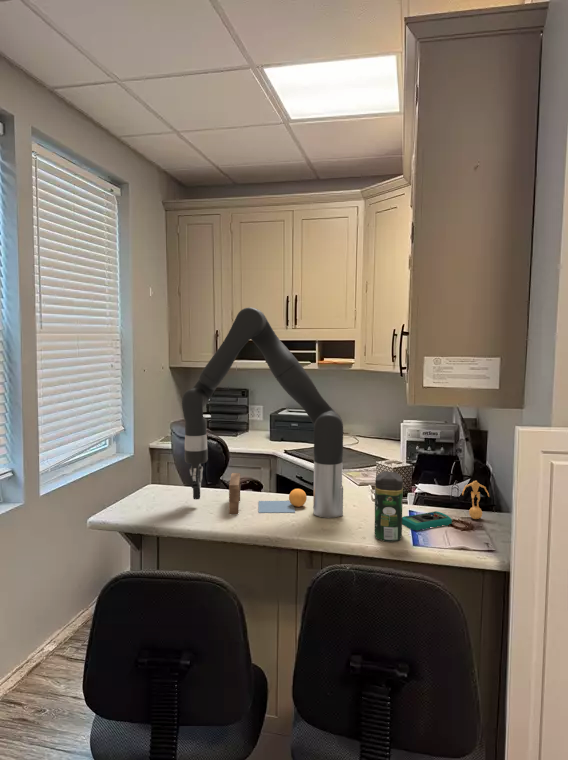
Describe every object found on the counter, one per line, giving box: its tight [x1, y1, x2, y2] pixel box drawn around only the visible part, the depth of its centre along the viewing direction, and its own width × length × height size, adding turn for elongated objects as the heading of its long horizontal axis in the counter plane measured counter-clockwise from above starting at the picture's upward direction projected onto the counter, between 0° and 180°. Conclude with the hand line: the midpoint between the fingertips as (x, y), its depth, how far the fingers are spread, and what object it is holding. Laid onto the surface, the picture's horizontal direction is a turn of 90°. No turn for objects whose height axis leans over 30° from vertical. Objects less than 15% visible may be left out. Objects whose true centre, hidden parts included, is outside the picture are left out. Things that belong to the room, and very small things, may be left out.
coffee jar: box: [374, 470, 404, 543], centre depth 149 cm, size 10×8×19 cm
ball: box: [288, 488, 307, 508], centre depth 176 cm, size 6×6×6 cm
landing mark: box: [258, 500, 296, 514], centre depth 175 cm, size 12×12×1 cm
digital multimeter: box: [402, 511, 453, 531], centre depth 160 cm, size 7×15×3 cm, turn 115°
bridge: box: [228, 472, 241, 515], centre depth 174 cm, size 3×15×10 cm, turn 2°
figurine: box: [461, 480, 490, 520], centre depth 166 cm, size 8×6×12 cm
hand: (196, 498), depth 174 cm, fingers closed
